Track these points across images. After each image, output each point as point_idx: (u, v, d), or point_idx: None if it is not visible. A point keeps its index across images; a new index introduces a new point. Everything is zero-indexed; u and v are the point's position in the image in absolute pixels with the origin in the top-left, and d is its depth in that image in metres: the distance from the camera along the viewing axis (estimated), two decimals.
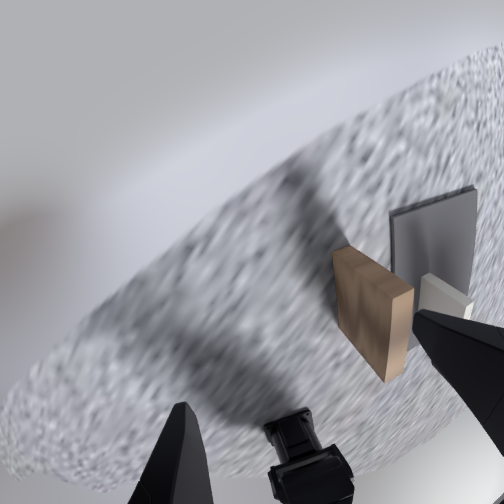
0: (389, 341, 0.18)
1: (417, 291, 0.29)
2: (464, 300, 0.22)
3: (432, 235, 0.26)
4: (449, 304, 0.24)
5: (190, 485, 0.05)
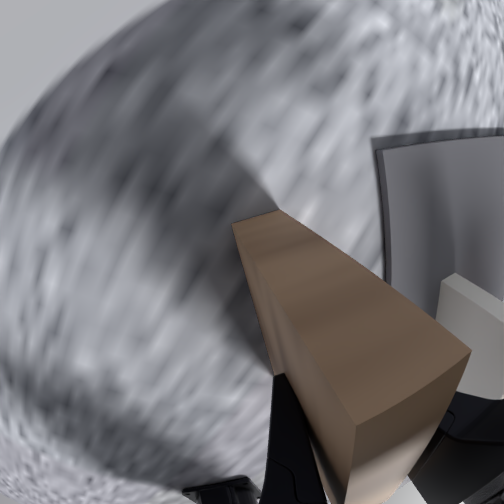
0: (344, 495, 0.04)
1: (433, 308, 0.15)
2: None
3: (460, 201, 0.13)
4: (495, 335, 0.10)
5: None
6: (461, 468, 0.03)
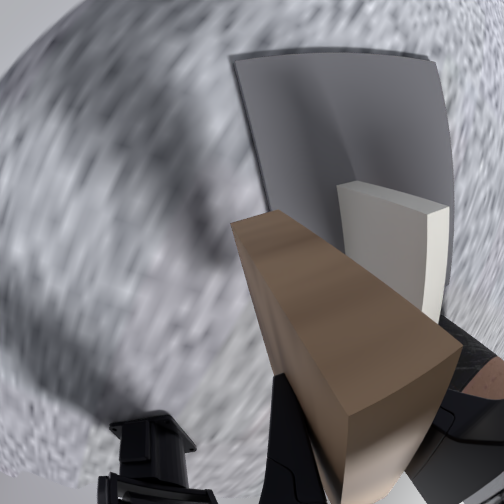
0: (341, 489, 0.04)
1: (334, 216, 0.17)
2: (424, 206, 0.10)
3: (345, 105, 0.14)
4: (391, 223, 0.12)
5: None
6: (461, 468, 0.03)
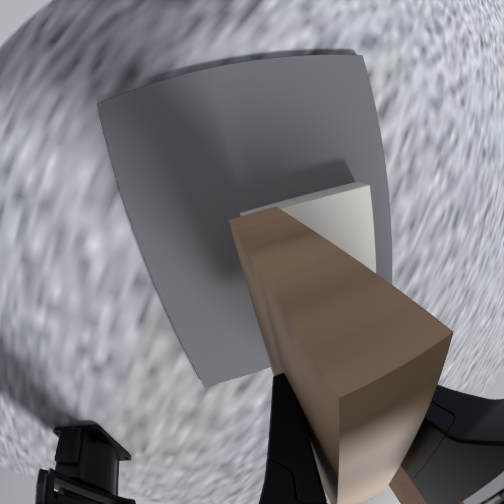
0: (337, 480, 0.04)
1: (212, 254, 0.16)
2: (351, 186, 0.15)
3: (218, 129, 0.14)
4: (337, 212, 0.15)
5: None
6: (461, 468, 0.03)
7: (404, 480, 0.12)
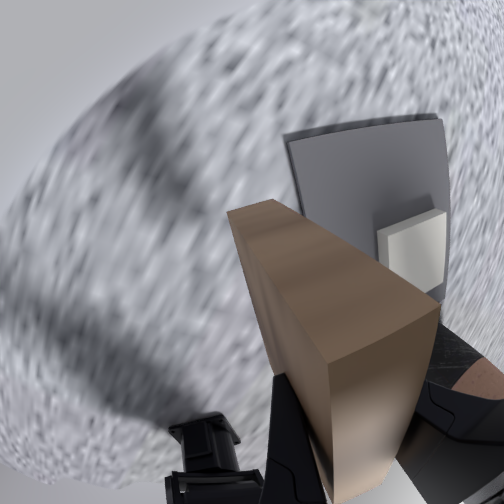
0: (332, 465, 0.05)
1: None
2: (435, 212, 0.21)
3: (369, 173, 0.19)
4: (430, 230, 0.21)
5: None
6: (461, 468, 0.03)
7: None
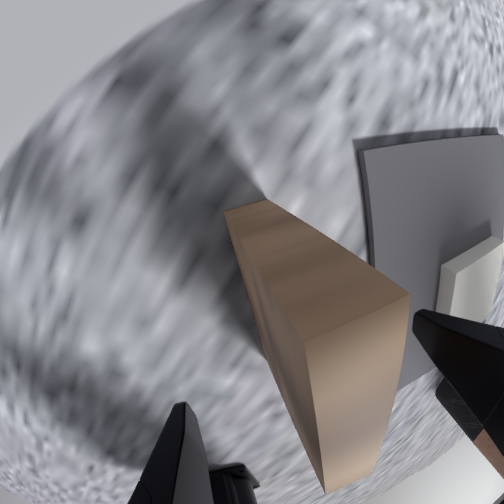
0: (319, 447, 0.05)
1: (418, 299, 0.16)
2: (494, 241, 0.16)
3: (443, 197, 0.14)
4: (490, 262, 0.15)
5: (190, 485, 0.05)
6: None
7: None
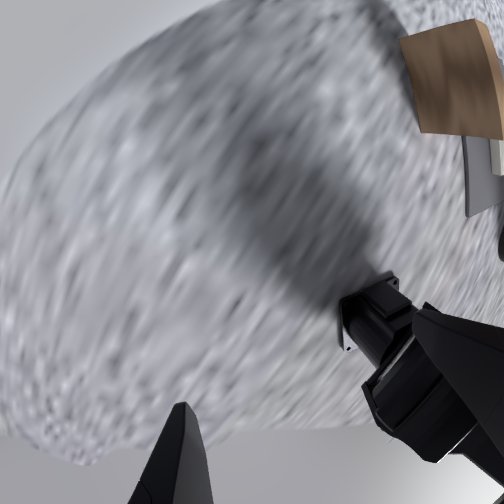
0: (490, 68, 0.10)
1: None
2: None
3: None
4: None
5: (190, 485, 0.05)
6: None
7: None
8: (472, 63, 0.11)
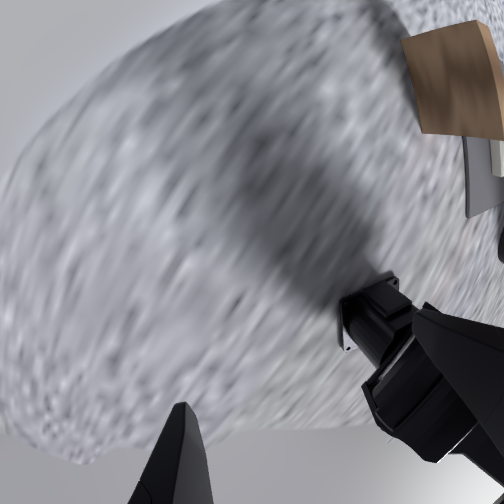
0: (491, 69, 0.10)
1: None
2: None
3: None
4: None
5: (190, 485, 0.05)
6: None
7: None
8: (474, 64, 0.11)
